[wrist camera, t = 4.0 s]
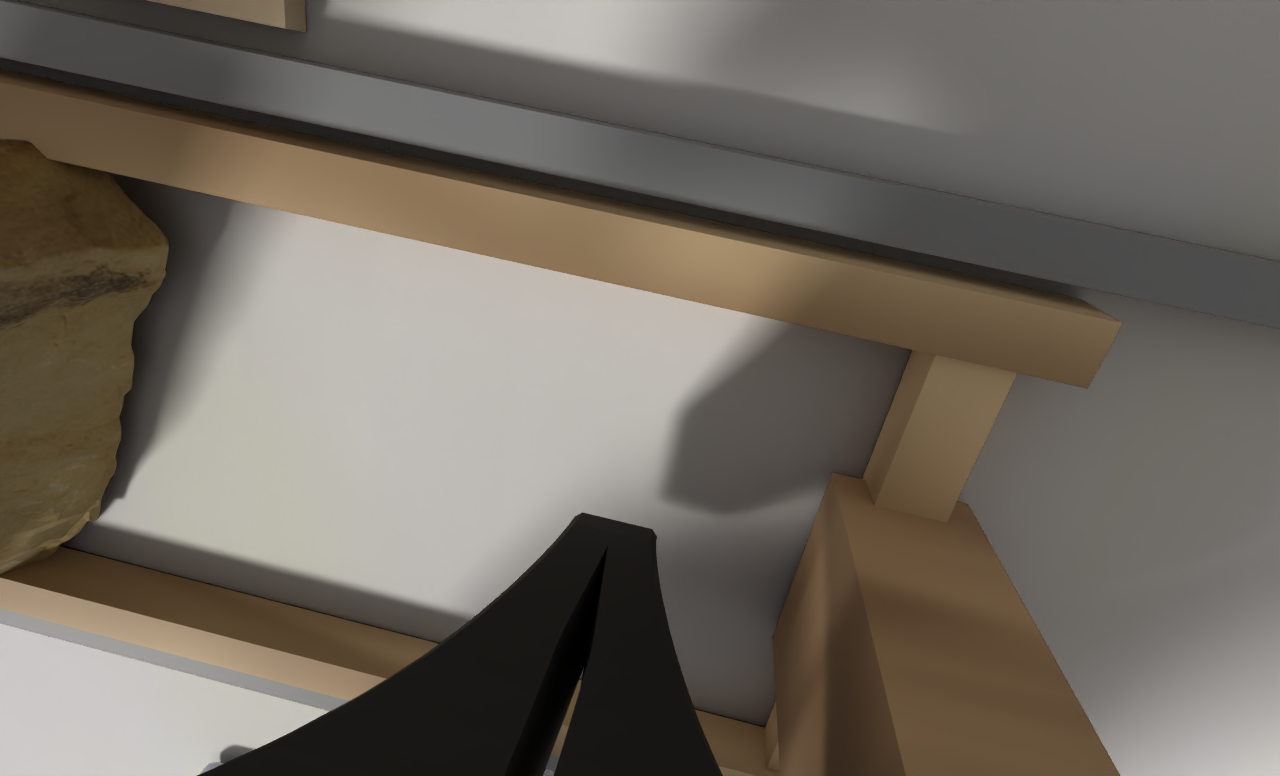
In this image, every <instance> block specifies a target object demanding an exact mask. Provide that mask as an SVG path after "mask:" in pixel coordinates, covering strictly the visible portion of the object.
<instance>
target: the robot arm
mask: <svg viewBox="0 0 1280 776" xmlns="http://www.w3.org/2000/svg"><path fill="white" fill-rule="evenodd" d="M656 539H657V536H656V534H655V533H654V532H653V530H652V529H649V528H645V527H641V526H636V525H632V524H628V523H624V522H620V521H616V520H611V519H607V518H603V517H599V516H595V515H590V514H586V513H581V514H579V515H577V516H575V517H574V519H573V520H572V521H571V523H570V524H569V525H568V527H567V528H566V529H565V530H564V531H563V533H562V534H561V535H560V536H559V537H558V538H557V540H556V541H555V542H554V543H553V544H552V545H551V546H550V547H549V548H548V549H547V550H546V551H545V553H544V554H543V555H542V556H541V557H540V558H539V559H538V560H537V561H536V562H535V563H534V564H533V565H532V566H531V567H530V568H529V569H528V570H527V571H526V572H525V573H523V574H522V575H521V576H520V577H519V578H518V579H517V580H516V581H515V582H514V583H513V584H512V585H511V586H510V587H509V588H508V589H507V590H505V591H504V592H503V593H502V594H501V595H500V596H498V597H497V598H496V599H495V600H494V601H493V602H491V603H490V604H489V605H488V606H487V607H486V608H484V609H483V610H482V611H481V612H480V613H479V614H477V615H476V616H475V617H474V618H473V619H471V620H470V621H469V622H467V623H466V624H465V625H464V626H462V627H461V628H460V629H459V630H457V631H456V632H455V633H453V634H452V635H451V636H449V637H448V638H447V639H445V640H444V641H442V642H441V643H440V644H438V645H437V646H435V647H434V648H433V649H431V650H430V651H428V652H427V653H426V654H424V655H423V656H421V657H420V658H418V659H417V660H415V661H414V662H412V663H410V664H409V665H407V666H406V667H404V668H403V669H401V670H400V671H398V672H397V673H395V674H393V675H392V676H390V677H389V678H387V679H386V680H384V681H383V682H381V683H379V684H378V685H376V686H374V687H373V688H371V689H369V690H368V691H366V692H364V693H363V694H361V695H359V696H357V697H356V698H354V699H352V700H350V701H348V702H346V703H345V704H343V705H341V706H339V707H337V708H335V709H333V710H332V711H330V712H328V713H326V714H324V715H322V716H320V717H319V718H317V719H315V720H313V721H311V722H309V723H307V724H306V725H304V726H302V727H300V728H298V729H296V730H294V731H293V732H291V733H289V734H287V735H285V736H282V737H280V738H278V739H276V740H274V741H272V742H270V743H268V744H266V745H264V746H262V747H259V748H257V749H255V750H253V751H250V752H248V753H246V754H244V755H242V756H239V757H237V758H235V759H233V760H231V761H228V762H226V763H219V762H215V763H210V764H208V765H207V766H206V767H205V769H204V770H203V771H202V772H201V773H200V775H197V776H543V774H544V771H545V768H546V766H547V763H548V761H549V758H550V755H551V753H552V750H553V747H554V745H555V742H556V739H557V737H558V734H559V732H560V729H561V726H562V724H563V721H564V718H565V716H566V713H567V710H568V708H569V705H570V702H571V700H572V697H573V694H574V692H575V689H576V686H577V684H578V681H579V678H580V676H581V673H582V670H583V668H584V670H583V675H582V681H581V687H580V691H579V694H578V698H577V701H576V704H575V708H574V711H573V714H572V717H571V721H570V724H569V727H568V731H567V734H566V737H565V740H564V744H563V747H562V750H561V754H560V757H559V760H558V763H557V767H556V770H555V773H554V776H723V774H722V772H721V770H720V768H719V766H718V764H717V762H716V760H715V757H714V755H713V753H712V750H711V748H710V746H709V743H708V741H707V739H706V736H705V734H704V732H703V729H702V727H701V724H700V722H699V719H698V717H697V714H696V711H695V709H694V706H693V704H692V701H691V698H690V695H689V693H688V690H687V687H686V684H685V681H684V678H683V675H682V672H681V668H680V665H679V662H678V659H677V655H676V652H675V649H674V645H673V641H672V638H671V634H670V630H669V626H668V621H667V617H666V613H665V608H664V604H663V599H662V594H661V588H660V582H659V575H658V568H657V556H656Z"/></svg>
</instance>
